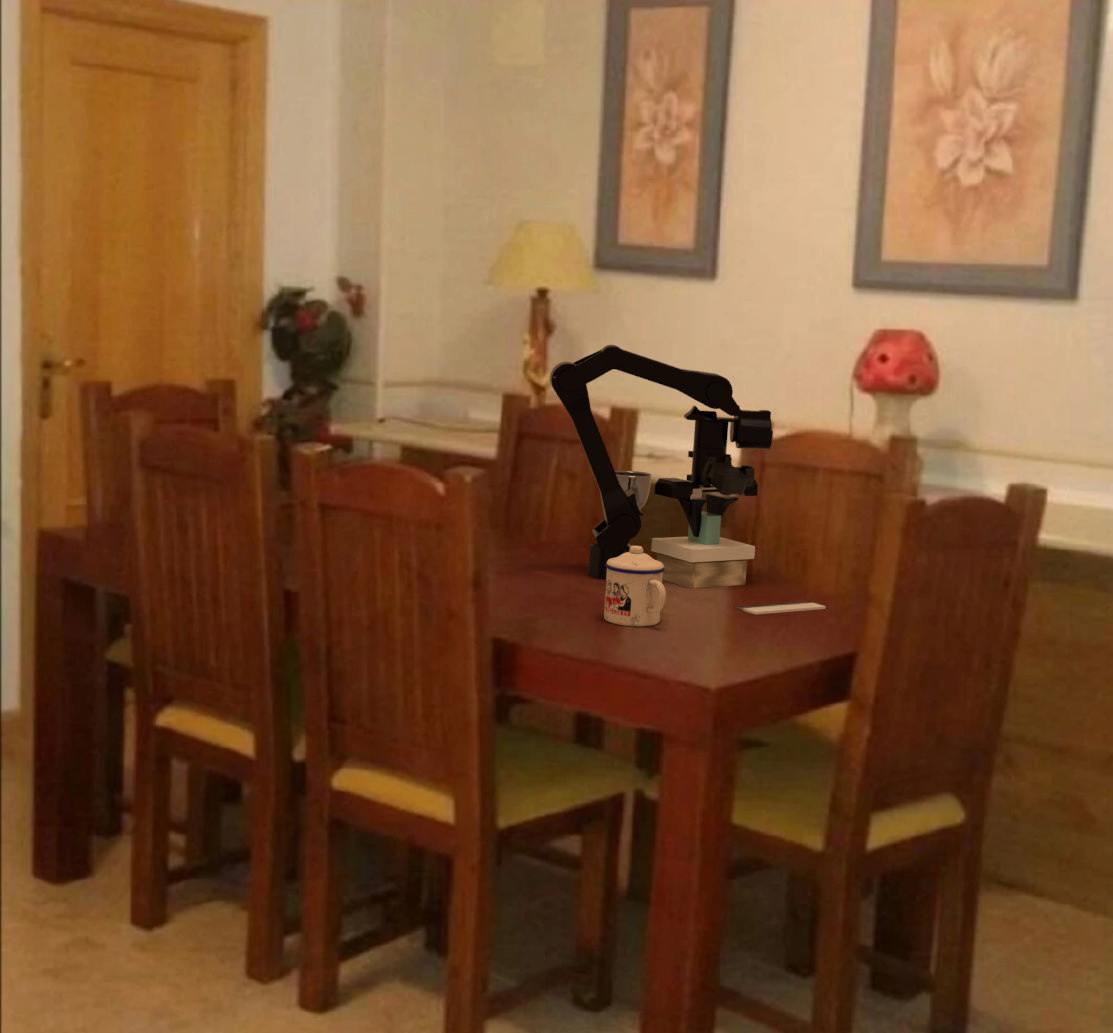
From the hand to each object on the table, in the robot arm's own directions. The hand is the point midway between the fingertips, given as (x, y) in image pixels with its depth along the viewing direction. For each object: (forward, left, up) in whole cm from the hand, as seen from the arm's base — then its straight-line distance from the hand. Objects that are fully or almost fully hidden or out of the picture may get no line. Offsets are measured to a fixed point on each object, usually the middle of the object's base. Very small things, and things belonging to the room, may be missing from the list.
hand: (703, 536), depth 284 cm
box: (0, 0, -9) cm, 9 cm away
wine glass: (+8, +34, -9) cm, 36 cm away
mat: (+1, -16, -9) cm, 18 cm away
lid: (0, 0, -3) cm, 3 cm away
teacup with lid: (-29, -22, -9) cm, 37 cm away
